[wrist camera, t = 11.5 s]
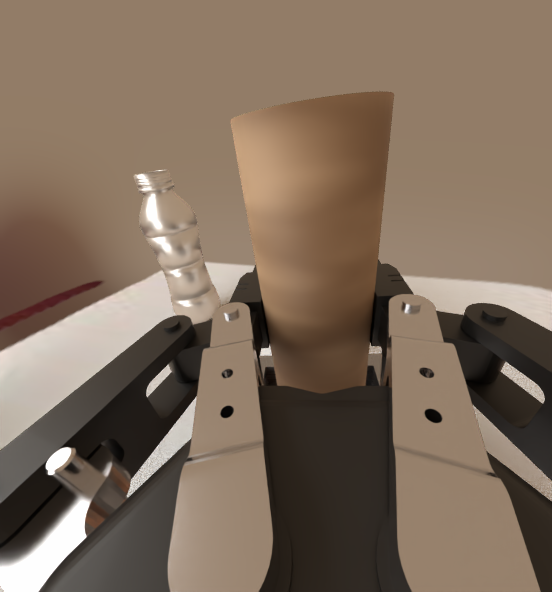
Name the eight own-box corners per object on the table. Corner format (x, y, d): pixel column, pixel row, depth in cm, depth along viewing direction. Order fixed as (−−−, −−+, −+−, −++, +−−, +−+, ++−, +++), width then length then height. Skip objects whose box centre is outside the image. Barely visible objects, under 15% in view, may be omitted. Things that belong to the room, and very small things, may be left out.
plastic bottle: (186, 307, 41) (135, 173, 30) (226, 302, 40) (188, 165, 30) (173, 332, 35) (104, 180, 25) (219, 328, 35) (169, 171, 24)
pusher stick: (282, 464, 12) (208, 116, 5) (287, 394, 16) (247, 126, 8) (367, 469, 12) (423, 80, 4) (353, 395, 15) (372, 106, 8)
